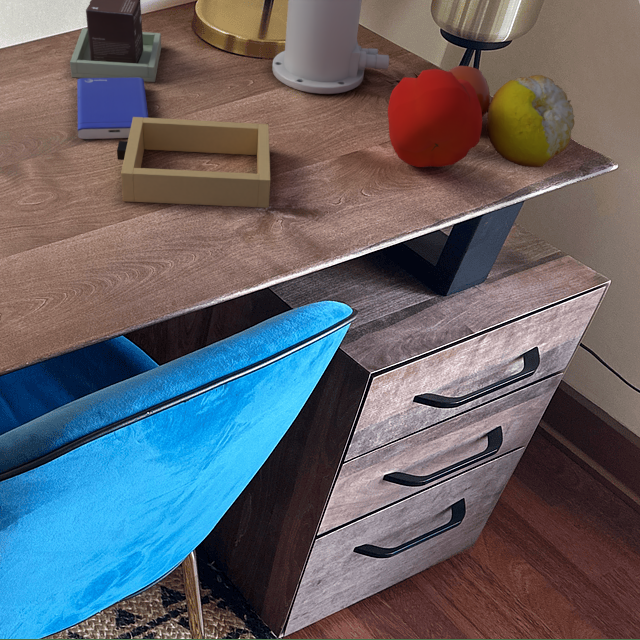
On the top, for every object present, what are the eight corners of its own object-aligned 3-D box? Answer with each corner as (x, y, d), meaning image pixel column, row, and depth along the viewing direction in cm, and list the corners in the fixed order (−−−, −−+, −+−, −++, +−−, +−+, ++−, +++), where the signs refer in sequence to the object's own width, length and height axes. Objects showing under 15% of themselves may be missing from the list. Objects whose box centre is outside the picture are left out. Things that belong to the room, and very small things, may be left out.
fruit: (564, 177, 102) (580, 157, 94) (479, 170, 103) (487, 149, 95) (571, 91, 104) (587, 63, 96) (486, 84, 104) (495, 57, 97)
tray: (161, 47, 116) (160, 32, 115) (154, 82, 108) (154, 67, 107) (83, 42, 115) (82, 27, 114) (71, 77, 107) (69, 61, 106)
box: (136, 69, 109) (133, 14, 104) (89, 65, 109) (84, 9, 104) (144, 50, 114) (141, -4, 109) (99, 45, 113) (95, -8, 108)
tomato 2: (508, 76, 104) (495, 138, 105) (467, 83, 111) (455, 142, 111) (465, 56, 100) (452, 121, 100) (425, 65, 107) (413, 126, 107)
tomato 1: (453, 186, 101) (442, 125, 104) (507, 127, 90) (492, 61, 94) (373, 175, 97) (365, 112, 100) (420, 113, 87) (408, 45, 90)
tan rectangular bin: (267, 150, 98) (268, 124, 96) (268, 207, 89) (270, 180, 87) (125, 143, 96) (123, 116, 94) (113, 201, 88) (110, 172, 85)
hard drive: (76, 77, 104) (77, 127, 95) (143, 77, 106) (149, 125, 97) (78, 89, 105) (78, 139, 96) (144, 88, 107) (150, 137, 98)
